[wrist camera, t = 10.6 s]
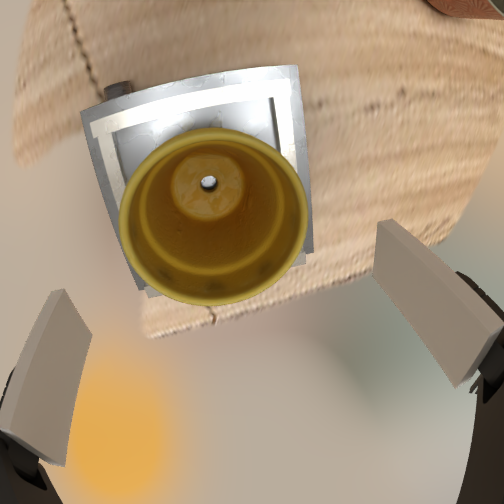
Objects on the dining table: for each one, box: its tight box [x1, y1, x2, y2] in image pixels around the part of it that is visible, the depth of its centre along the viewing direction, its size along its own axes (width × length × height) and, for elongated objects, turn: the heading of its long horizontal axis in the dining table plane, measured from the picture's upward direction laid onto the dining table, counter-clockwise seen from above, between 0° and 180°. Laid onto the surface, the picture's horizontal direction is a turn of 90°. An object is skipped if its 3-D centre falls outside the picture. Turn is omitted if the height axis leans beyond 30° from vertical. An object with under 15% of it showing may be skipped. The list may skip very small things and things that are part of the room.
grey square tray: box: [80, 65, 314, 298], centre depth 23 cm, size 19×18×8 cm
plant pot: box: [118, 128, 308, 306], centre depth 19 cm, size 10×10×10 cm
